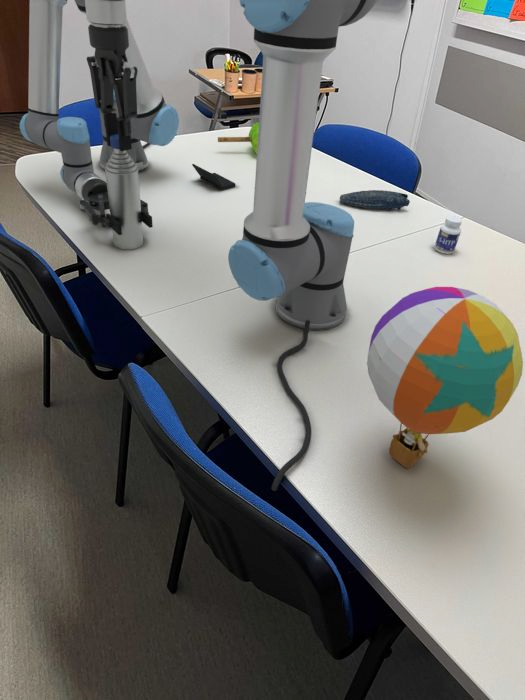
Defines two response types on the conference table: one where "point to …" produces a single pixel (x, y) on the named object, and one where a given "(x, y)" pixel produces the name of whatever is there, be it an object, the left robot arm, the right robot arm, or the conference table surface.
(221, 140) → the decorative tree
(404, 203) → the fish model
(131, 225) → the bottle
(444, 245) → the pill bottle
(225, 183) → the handheld gaming console
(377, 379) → the toy
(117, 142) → the cap
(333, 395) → the conference table surface
